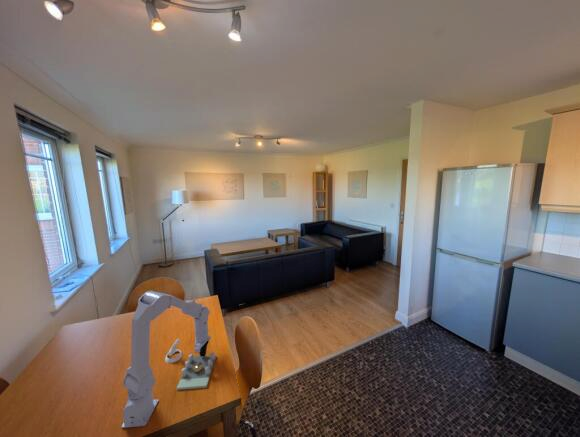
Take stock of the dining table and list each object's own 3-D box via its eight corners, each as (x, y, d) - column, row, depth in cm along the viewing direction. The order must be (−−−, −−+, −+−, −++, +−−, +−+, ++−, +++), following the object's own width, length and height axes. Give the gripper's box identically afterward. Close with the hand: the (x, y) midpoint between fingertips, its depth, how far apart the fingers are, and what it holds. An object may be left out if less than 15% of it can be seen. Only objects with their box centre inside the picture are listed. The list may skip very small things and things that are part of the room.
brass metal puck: (201, 373, 97) (201, 369, 97) (192, 374, 97) (191, 370, 97) (203, 365, 101) (203, 362, 101) (194, 366, 101) (194, 362, 101)
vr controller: (186, 353, 104) (172, 348, 102) (174, 369, 106) (160, 364, 104) (191, 339, 111) (178, 334, 109) (180, 355, 113) (167, 350, 111)
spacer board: (206, 387, 92) (205, 379, 91) (176, 390, 90) (175, 381, 90) (216, 356, 108) (215, 349, 108) (191, 358, 107) (190, 351, 107)
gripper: (205, 339, 98) (207, 366, 100) (213, 320, 112) (215, 344, 114) (189, 340, 98) (191, 367, 99) (199, 321, 112) (201, 345, 114)
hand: (203, 355), depth 107 cm, fingers closed
